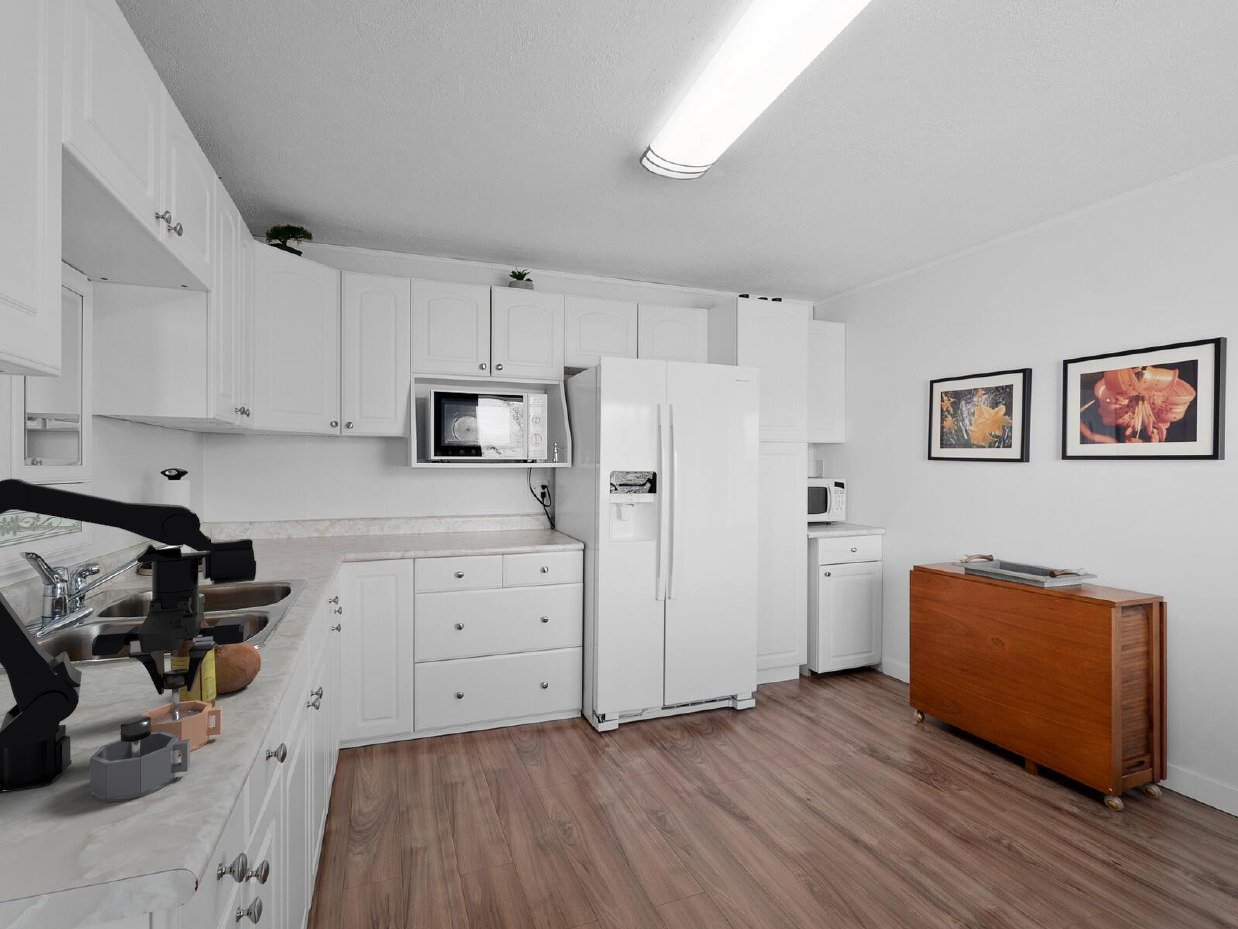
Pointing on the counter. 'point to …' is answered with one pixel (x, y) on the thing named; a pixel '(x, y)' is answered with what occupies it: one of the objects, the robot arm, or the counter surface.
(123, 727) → the coffee tamper
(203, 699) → the sauce bottle
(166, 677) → the black-handled metal tamper
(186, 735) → the bowl
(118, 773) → the grey octagonal cup
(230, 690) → the onion
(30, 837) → the counter surface
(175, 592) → the robot arm
